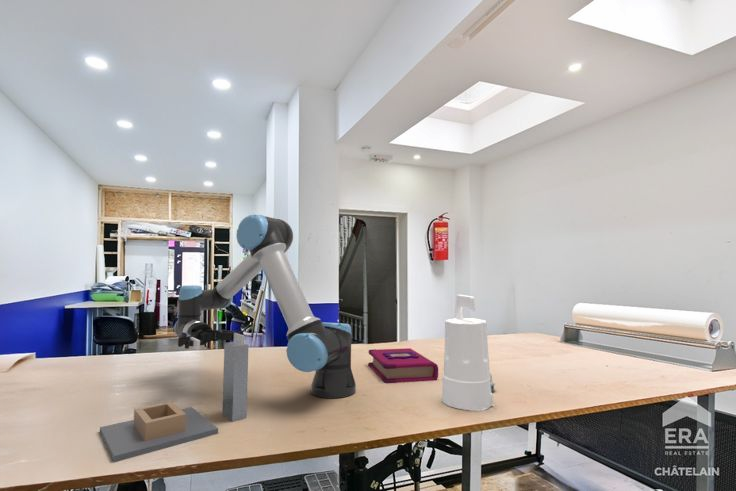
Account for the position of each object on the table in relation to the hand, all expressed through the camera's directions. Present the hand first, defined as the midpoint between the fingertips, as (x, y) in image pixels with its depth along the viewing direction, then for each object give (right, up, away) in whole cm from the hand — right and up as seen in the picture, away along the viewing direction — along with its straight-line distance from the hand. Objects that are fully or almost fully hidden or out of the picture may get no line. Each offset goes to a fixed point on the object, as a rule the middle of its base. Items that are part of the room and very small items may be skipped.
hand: (221, 342), depth 116 cm
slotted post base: (-8, -17, -20) cm, 28 cm away
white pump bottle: (+75, -20, +5) cm, 78 cm away
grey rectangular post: (+7, -18, -9) cm, 21 cm away
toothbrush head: (+84, -22, +26) cm, 91 cm away
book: (+57, -23, +40) cm, 74 cm away
